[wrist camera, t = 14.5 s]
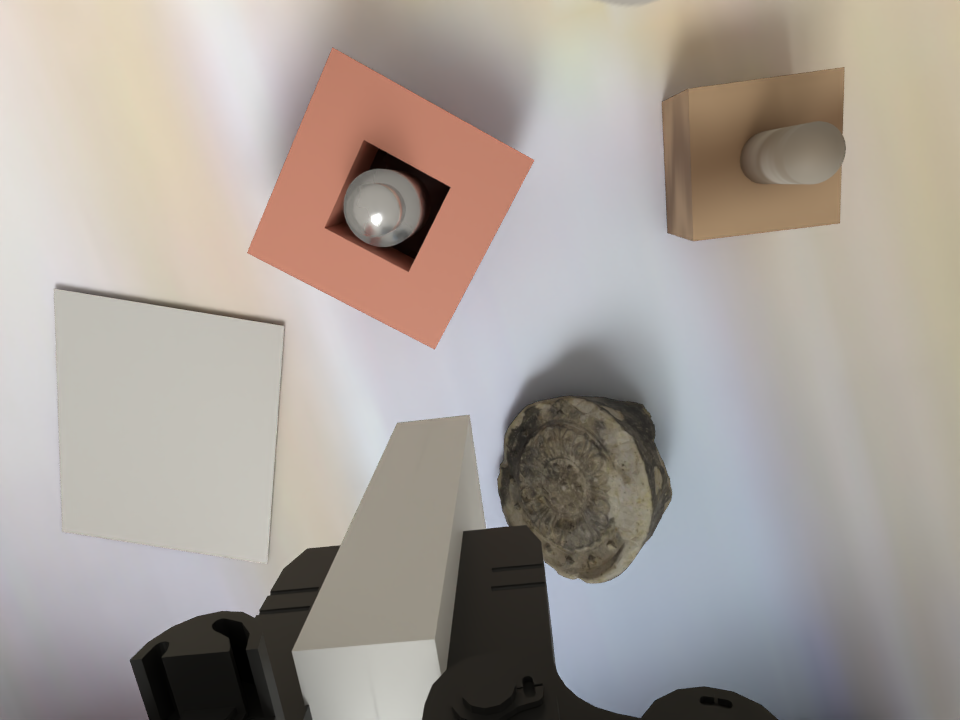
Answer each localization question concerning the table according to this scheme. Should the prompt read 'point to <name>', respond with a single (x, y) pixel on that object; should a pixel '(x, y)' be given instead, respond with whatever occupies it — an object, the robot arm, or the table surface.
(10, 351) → the table surface
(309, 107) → the salmon square frame
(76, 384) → the paper stack
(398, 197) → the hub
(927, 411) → the table surface
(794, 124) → the stand
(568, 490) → the fossil
